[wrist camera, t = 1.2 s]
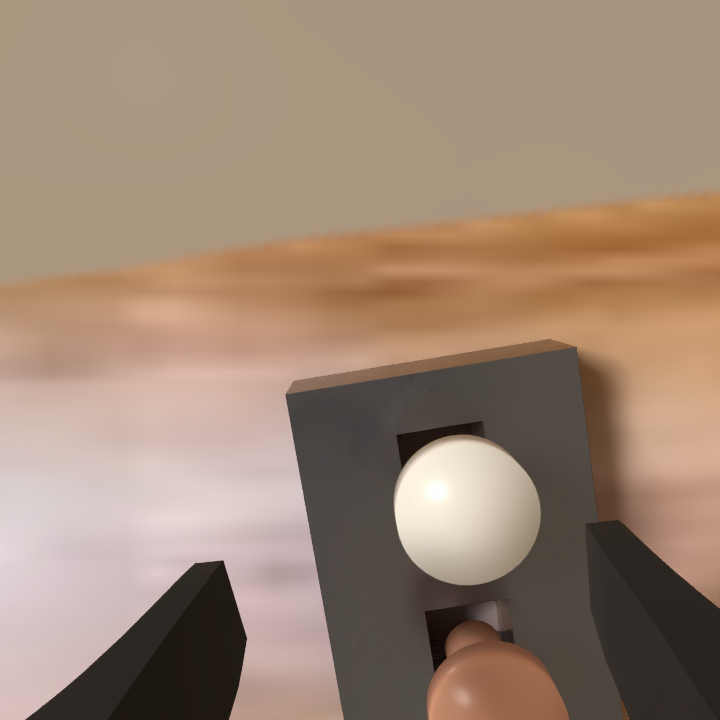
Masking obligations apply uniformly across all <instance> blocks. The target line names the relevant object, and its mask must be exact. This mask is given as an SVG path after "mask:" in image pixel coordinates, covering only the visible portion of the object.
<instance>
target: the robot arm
mask: <svg viewBox="0 0 720 720" xmlns="http://www.w3.org/2000/svg"><path fill="white" fill-rule="evenodd" d="M585 531H586V546H587V561H588V577H589V592H590V607H591V612H592V616H593V619H594V623H595V626H596V630H597V633H598V637H599V640H600V643H601V646H602V650H603V653H604V656H605V660H606V662H607V665H608V667H609V670H610V672H611V674H612V677H613V679H614V682H615V684H616V686H617V689H618V691H619V694H620V696H621V698H622V701H623V703H624V705H625V708H626V710H627V713H628V715H629V717H630V720H720V608H718V607H717V606H716V605H715V604H713V603H712V602H711V601H710V600H708V599H707V598H706V597H704V596H703V595H702V594H701V593H700V592H698V591H697V590H696V589H695V588H694V587H693V586H691V585H690V584H689V583H688V582H687V581H685V580H684V579H683V578H682V577H681V576H679V575H678V574H677V573H676V572H675V571H674V570H672V569H671V568H670V567H669V566H668V565H667V564H666V563H665V562H663V561H662V560H661V559H660V558H659V557H658V556H657V555H656V554H655V553H654V552H652V551H651V550H650V549H649V548H648V547H647V546H646V545H645V544H644V543H643V542H642V541H641V540H640V539H639V538H638V537H636V536H635V535H634V534H633V533H632V532H631V531H630V530H629V529H628V528H627V527H626V526H625V525H624V524H623V523H621V522H620V521H619V520H615V521H606V522H596V523H586V524H585ZM246 641H247V637H246V634H245V630H244V627H243V624H242V620H241V617H240V614H239V611H238V607H237V604H236V601H235V597H234V594H233V591H232V587H231V584H230V581H229V578H228V574H227V571H226V568H225V564H224V561H214V562H204V563H195V564H194V565H193V566H192V567H191V568H190V569H189V570H188V571H186V572H185V573H184V574H183V575H182V576H181V577H180V578H179V579H178V580H177V581H176V582H175V583H174V584H173V585H172V586H171V587H170V589H169V590H168V591H167V592H166V593H165V594H164V595H163V596H162V597H161V598H160V599H159V600H158V601H157V602H156V603H155V604H154V605H153V606H152V607H151V608H150V609H149V610H148V611H147V612H146V613H145V614H144V615H143V616H142V617H141V618H140V619H139V620H138V621H137V622H136V623H135V624H134V625H133V626H132V627H131V628H130V629H129V630H128V631H127V632H126V633H125V634H124V635H123V636H122V637H121V638H120V639H119V640H118V641H117V642H116V643H114V644H113V645H112V646H111V647H110V648H109V649H108V650H107V651H106V652H105V653H104V654H103V655H102V656H100V657H99V658H98V659H97V660H96V661H95V662H94V663H93V664H92V665H91V666H90V667H89V668H88V669H86V670H85V671H84V672H83V673H82V674H81V675H80V676H79V677H77V678H76V679H75V680H74V681H73V682H72V683H71V684H69V685H68V686H67V687H66V688H65V689H63V690H62V691H61V692H60V693H59V694H57V695H56V696H55V697H54V698H52V699H51V700H50V701H49V702H47V703H46V704H45V705H44V706H42V707H41V708H40V709H39V710H37V711H36V712H35V713H33V714H32V715H31V716H29V717H28V718H27V719H26V720H229V717H230V714H231V711H232V707H233V704H234V701H235V697H236V694H237V690H238V687H239V681H240V676H241V671H242V666H243V660H244V653H245V647H246Z"/></svg>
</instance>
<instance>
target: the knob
mask: <svg viewBox="0 0 720 720" xmlns="http://www.w3.org/2000/svg"><path fill="white" fill-rule="evenodd" d="M394 513H395V518H396V524H397V529H398V534H399V537H400V540H401V543H402V545H403V547H404V549H405V551H406V553H407V554H408V555H409V557H410V558H411V559H412V561H413V562H414V563H415V564H416V565H417V566H418V567H419V568H420V569H422V570H423V571H424V572H426V573H427V574H429V575H430V576H432V577H434V578H436V579H439V580H441V581H444V582H447V583H451V584H457V585H477V584H482V583H487V582H490V581H493V580H496V579H498V578H500V577H502V576H504V575H506V574H507V573H509V572H510V571H512V570H513V569H514V568H515V567H516V566H518V565H519V564H520V563H521V562H522V560H523V559H524V558H525V557H526V556H527V554H528V553H529V551H530V550H531V548H532V546H533V544H534V542H535V540H536V537H537V534H538V531H539V526H540V518H541V510H540V502H539V497H538V494H537V491H536V488H535V486H534V484H533V482H532V480H531V478H530V477H529V476H528V474H527V473H526V471H525V470H524V469H523V468H522V467H521V466H520V465H519V464H518V463H517V462H516V460H515V459H514V458H513V457H512V456H511V455H510V454H509V453H508V452H507V451H506V450H504V449H503V448H502V447H501V446H499V445H497V444H496V443H494V442H492V441H490V440H487V439H485V438H481V437H478V436H472V435H452V436H447V437H443V438H440V439H437V440H434V441H432V442H430V443H429V444H427V445H425V446H424V447H422V448H421V449H419V450H418V451H417V452H416V453H415V454H414V455H413V456H412V457H411V458H410V459H409V460H408V461H407V462H406V464H405V466H404V467H403V469H402V470H401V472H400V475H399V477H398V479H397V482H396V485H395V491H394Z"/></svg>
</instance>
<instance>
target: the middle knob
mask: <svg viewBox="0 0 720 720" xmlns="http://www.w3.org/2000/svg"><path fill="white" fill-rule="evenodd" d="M445 652H446V656H447V659H445V660H444V661H443V663H442V664H441V665H440V666H439V667H438V669H437V670H436V672H435V673H434V675H433V677H432V679H431V681H430V684H429V687H428V692H427V699H426V706H427V715H428V720H569V717H568V712H567V709H566V706H565V704H564V702H563V700H562V698H561V696H560V694H559V692H558V690H557V688H556V686H555V684H554V682H553V680H552V678H551V676H550V674H549V672H548V670H547V669H546V667H545V666H544V664H543V663H542V662H541V661H540V660H539V659H538V658H537V657H536V656H535V655H534V654H532V653H531V652H530V651H528V650H526V649H524V648H523V647H520V646H518V645H516V644H512V643H509V642H503V641H501V639H500V637H499V635H498V633H497V632H496V630H495V629H494V628H493V627H492V626H490V625H489V624H487V623H485V622H481V621H466V622H463V623H461V624H459V625H457V626H456V627H455V628H454V629H453V630H452V631H451V632H450V633H449V635H448V637H447V640H446V643H445Z"/></svg>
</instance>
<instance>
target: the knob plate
mask: <svg viewBox="0 0 720 720" xmlns="http://www.w3.org/2000/svg"><path fill="white" fill-rule="evenodd" d="M286 400H287V405H288V411H289V417H290V422H291V428H292V433H293V439H294V444H295V450H296V455H297V461H298V467H299V472H300V478H301V483H302V489H303V494H304V500H305V505H306V511H307V516H308V522H309V528H310V533H311V539H312V544H313V550H314V555H315V561H316V566H317V572H318V578H319V583H320V589H321V594H322V600H323V605H324V611H325V616H326V622H327V628H328V633H329V639H330V644H331V650H332V655H333V661H334V666H335V672H336V678H337V683H338V689H339V694H340V700H341V705H342V711H343V716H344V720H428V715H427V706H426V699H427V692H428V687H429V684H430V681H431V679H432V677H433V675H434V673H435V672H436V670H437V669H438V667H439V666H440V665H441V664H442V663H443V661H444V660H445V659H447V656H446V652H445V643H446V640H443V641H437V642H429V636H428V630H427V624H426V618H425V611H430V610H437V609H443V608H449V607H456V606H462V605H468V604H474V603H481V602H487V601H493V600H496V604H497V611H498V618H499V624H500V632H497V633H498V635H499V637H500V639H501V641H503V642H509V643H512V644H516V645H518V646H520V647H523V648H524V649H526V650H528V651H530V652H531V653H532V654H534V655H535V656H536V657H537V658H538V659H539V660H540V661H541V662H542V663H543V664H544V666H545V667H546V669H547V670H548V672H549V674H550V676H551V678H552V680H553V682H554V684H555V686H556V688H557V690H558V692H559V694H560V696H561V698H562V700H563V702H564V704H565V706H566V709H567V712H568V717H569V720H623V717H622V709H621V701H620V694H619V691H618V689H617V686H616V684H615V682H614V679H613V677H612V674H611V672H610V670H609V667H608V665H607V662H606V660H605V656H604V653H603V650H602V646H601V643H600V640H599V637H598V633H597V630H596V626H595V623H594V619H593V616H592V612H591V607H590V592H589V577H588V561H587V546H586V531H585V524H586V523H596V522H598V516H597V508H596V500H595V492H594V484H593V475H592V467H591V459H590V451H589V443H588V435H587V427H586V419H585V411H584V403H583V395H582V387H581V379H580V371H579V363H578V355H577V347H575V346H572V345H568V344H565V343H561V342H558V341H554V340H551V339H548V340H542V341H536V342H530V343H524V344H518V345H512V346H506V347H500V348H493V349H487V350H481V351H475V352H469V353H463V354H457V355H451V356H444V357H438V358H432V359H426V360H420V361H414V362H408V363H402V364H396V365H389V366H383V367H377V368H371V369H365V370H359V371H353V372H347V373H340V374H334V375H328V376H322V377H316V378H310V379H304V380H298V381H294V382H293V383H292V385H291V386H290V388H289V390H288V391H287V393H286ZM465 423H470V426H471V433H472V436H478V437H481V438H485V439H487V440H490V441H492V442H494V443H496V444H497V445H499V446H501V447H502V448H503V449H504V450H506V451H507V452H508V453H509V454H510V455H511V456H512V457H513V458H514V459H515V460H516V462H517V463H518V464H519V465H520V466H521V467H522V468H523V469H524V470H525V471H526V473H527V474H528V476H529V477H530V478H531V480H532V482H533V484H534V486H535V488H536V491H537V494H538V497H539V502H540V510H541V518H540V526H539V531H538V534H537V537H536V540H535V542H534V544H533V546H532V548H531V550H530V551H529V553H528V554H527V556H526V557H525V558H524V559H523V560H522V562H521V563H520V564H519V565H518V566H516V567H515V568H514V569H513V570H512V571H510V572H509V573H507V574H506V575H504V576H502V577H500V578H498V579H496V580H493V581H490V582H487V583H482V584H477V585H457V584H451V583H447V582H444V581H441V580H439V579H436V578H434V577H432V576H430V575H429V574H427V573H426V572H424V571H423V570H422V569H420V568H419V567H418V566H417V565H416V564H415V563H414V562H413V561H412V559H411V558H410V557H409V555H408V554H407V553H406V551H405V549H404V547H403V545H402V543H401V540H400V537H399V534H398V529H397V524H396V518H395V513H394V491H395V485H396V482H397V479H398V477H399V475H400V472H401V470H402V468H401V462H400V455H399V449H398V443H397V437H396V435H398V434H404V433H410V432H416V431H422V430H428V429H435V428H441V427H447V426H453V425H459V424H465Z"/></svg>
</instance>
